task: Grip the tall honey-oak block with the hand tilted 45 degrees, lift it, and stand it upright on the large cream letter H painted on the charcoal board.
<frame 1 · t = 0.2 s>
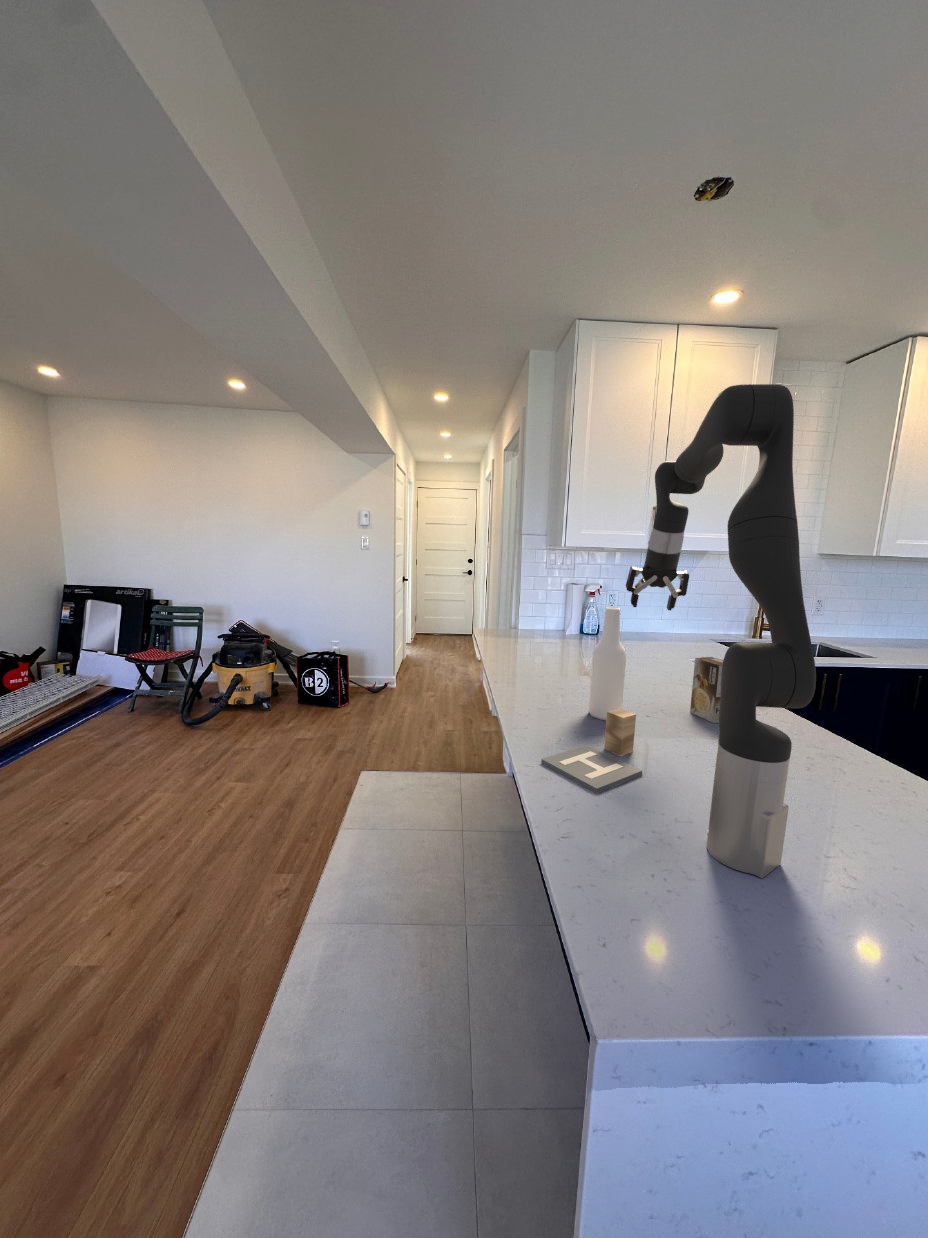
hand: (651, 607, 126), 31 cm above the counter, fingers open, 8 cm apart
alcohol: (604, 716, 136), on the counter
letter board: (590, 769, 103), on the counter
oak block: (618, 750, 113), on the counter
coffee box: (709, 717, 137), on the counter
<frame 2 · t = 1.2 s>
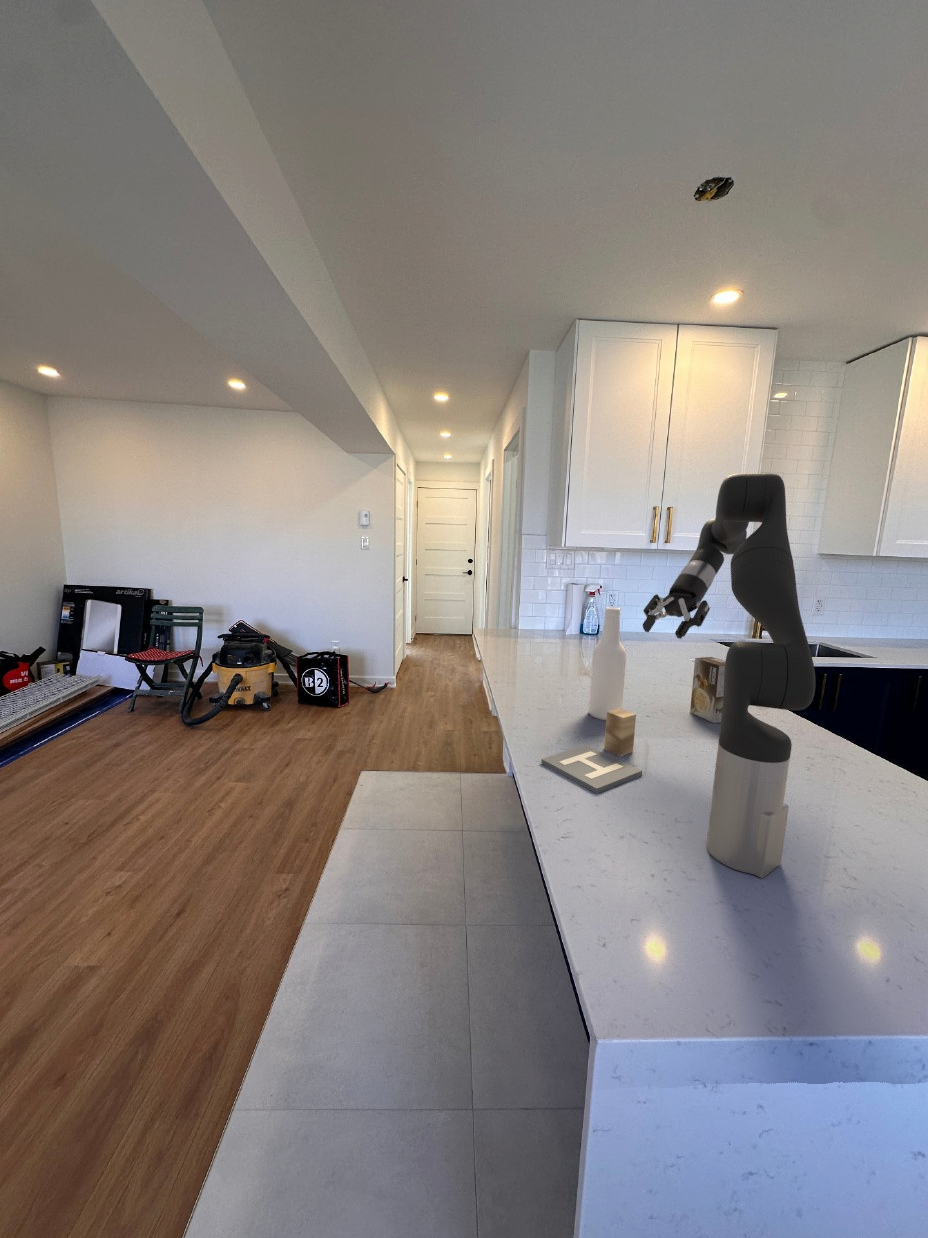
hand: (661, 633, 116), 26 cm above the counter, fingers open, 8 cm apart
nothing on the counter moved.
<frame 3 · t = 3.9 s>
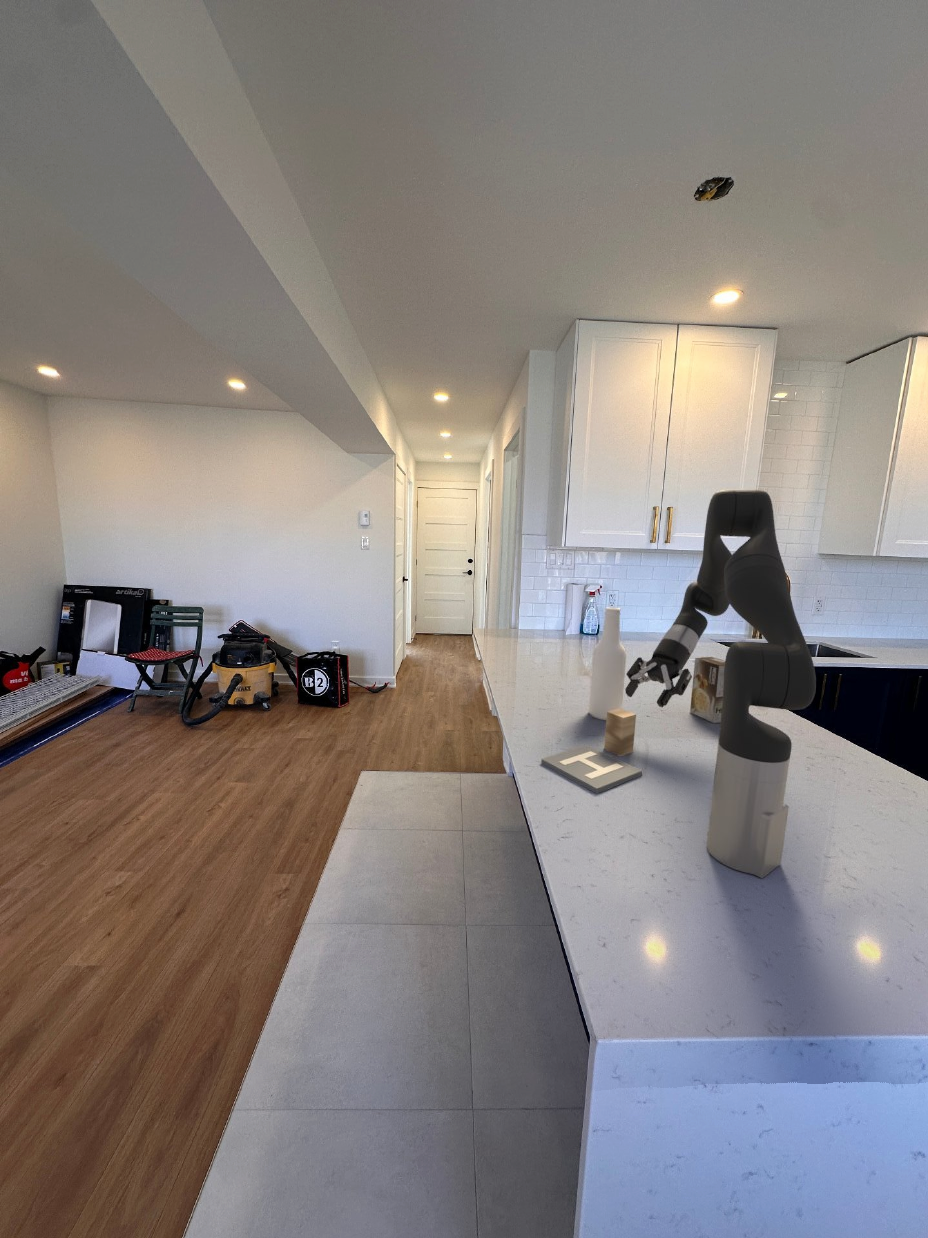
hand: (643, 700, 116), 11 cm above the counter, fingers open, 8 cm apart
nothing on the counter moved.
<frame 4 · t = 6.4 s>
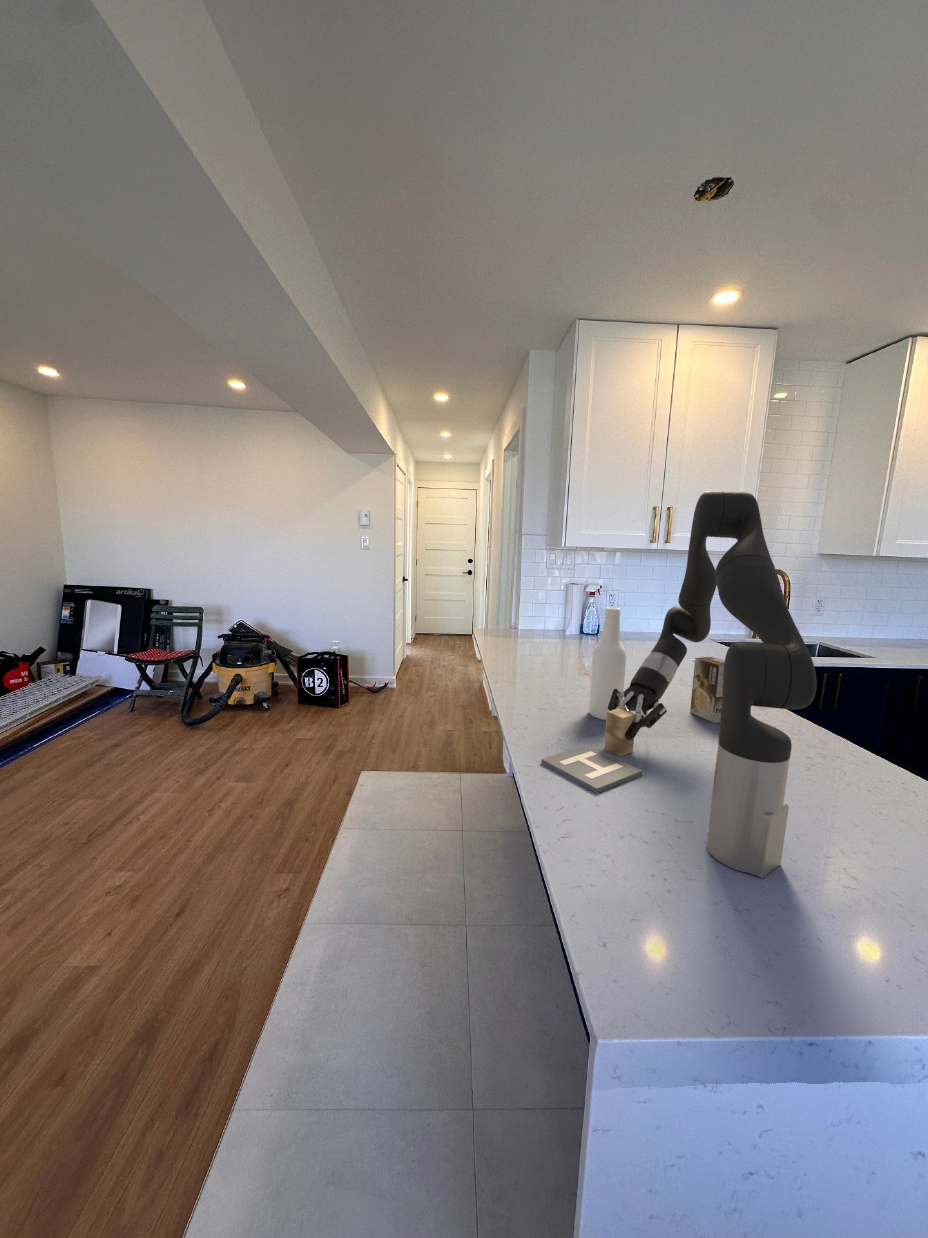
hand: (618, 733, 112), 4 cm above the counter, fingers closed on oak block, 4 cm apart
oak block: (618, 750, 113), on the counter, touching gripper
everything else where it was.
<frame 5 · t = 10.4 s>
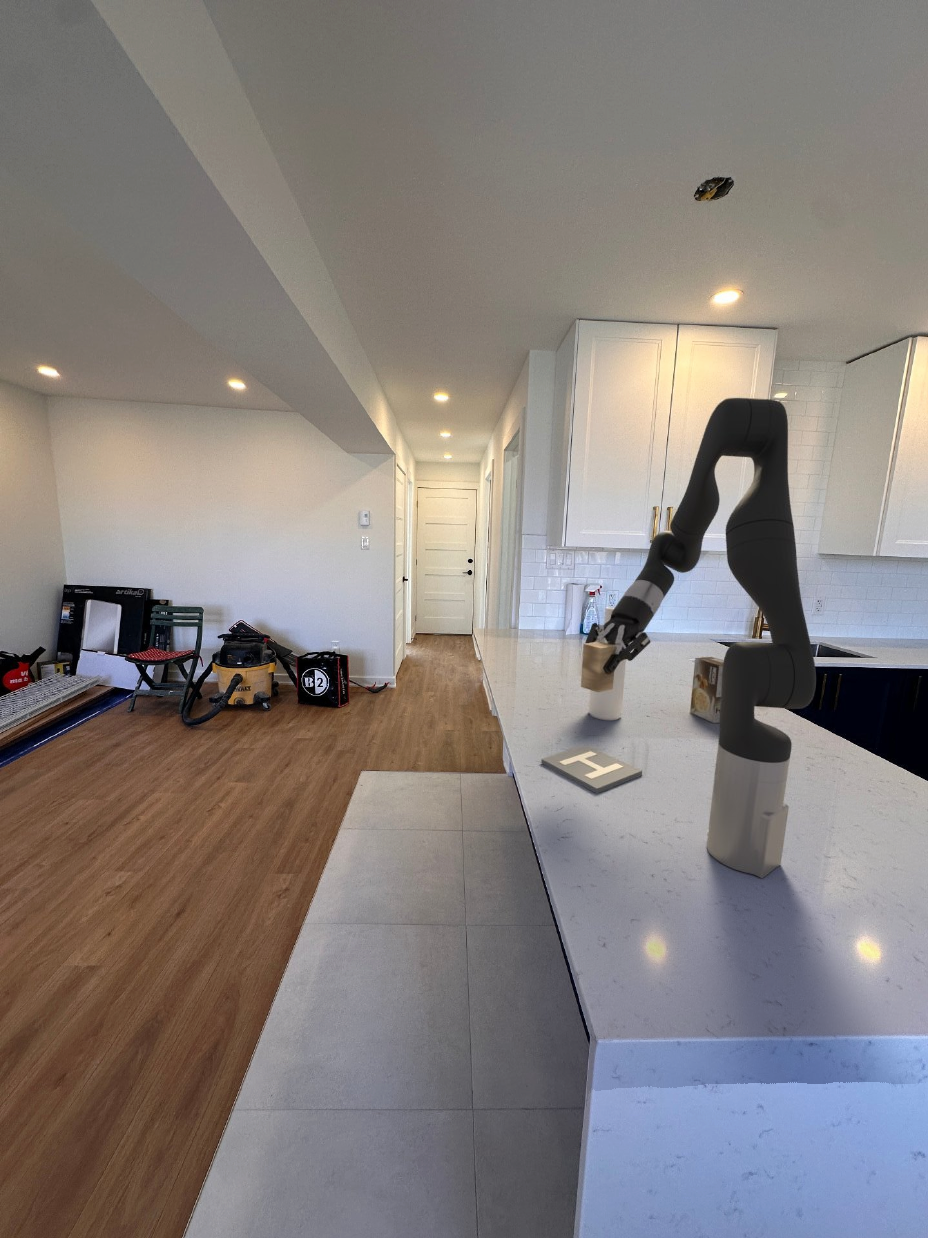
hand: (596, 668, 99), 22 cm above the counter, fingers closed on oak block, 4 cm apart
oak block: (596, 687, 101), point 18 cm above the counter, touching gripper
everything else where it was.
when the fingers open (7 cm above the counter, at t = 14.3 s): oak block drops 1 cm, resting on letter board.
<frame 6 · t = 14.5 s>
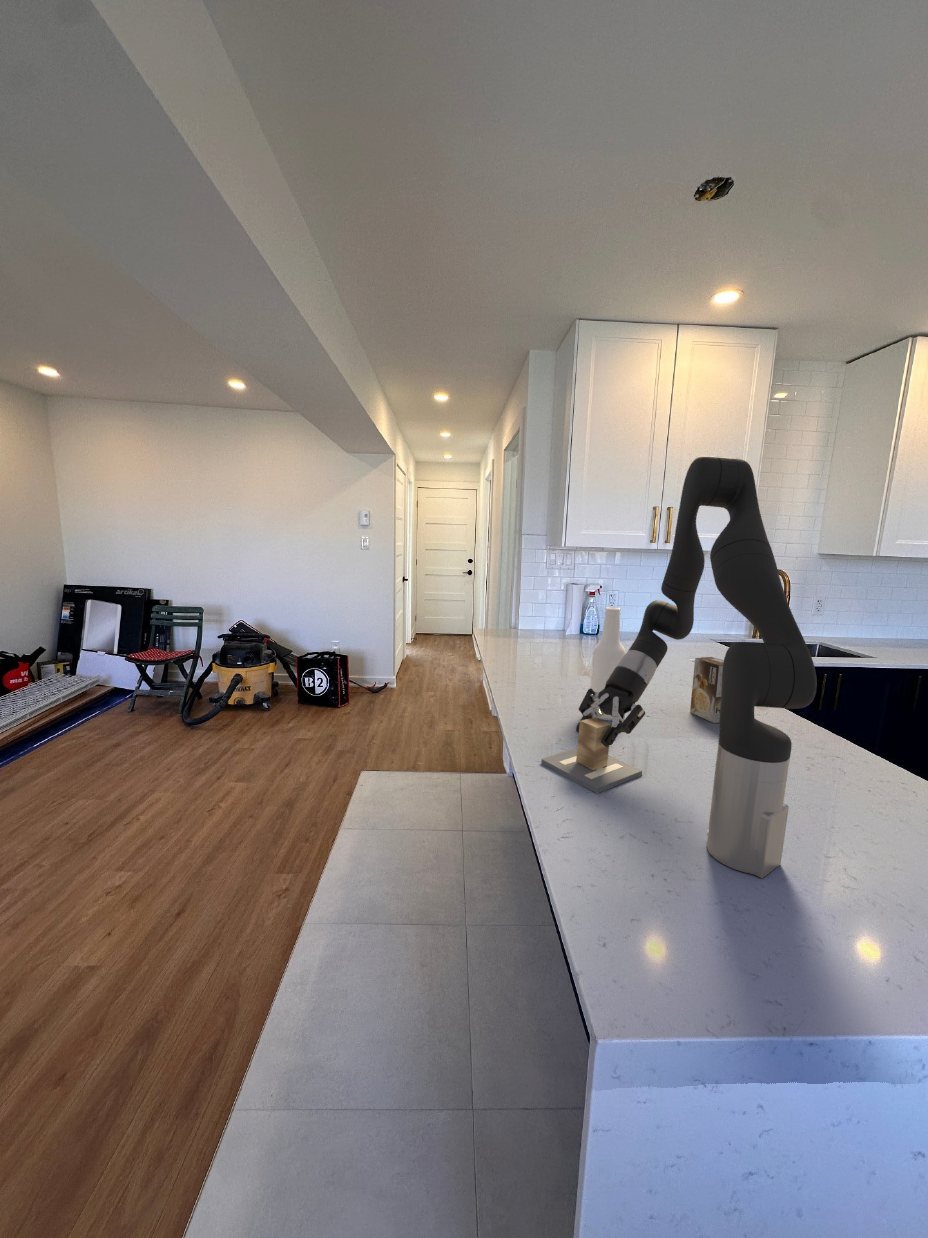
hand: (591, 738, 102), 7 cm above the counter, fingers open, 6 cm apart
oak block: (591, 763, 103), point 1 cm above the counter, touching letter board
everything else where it was.
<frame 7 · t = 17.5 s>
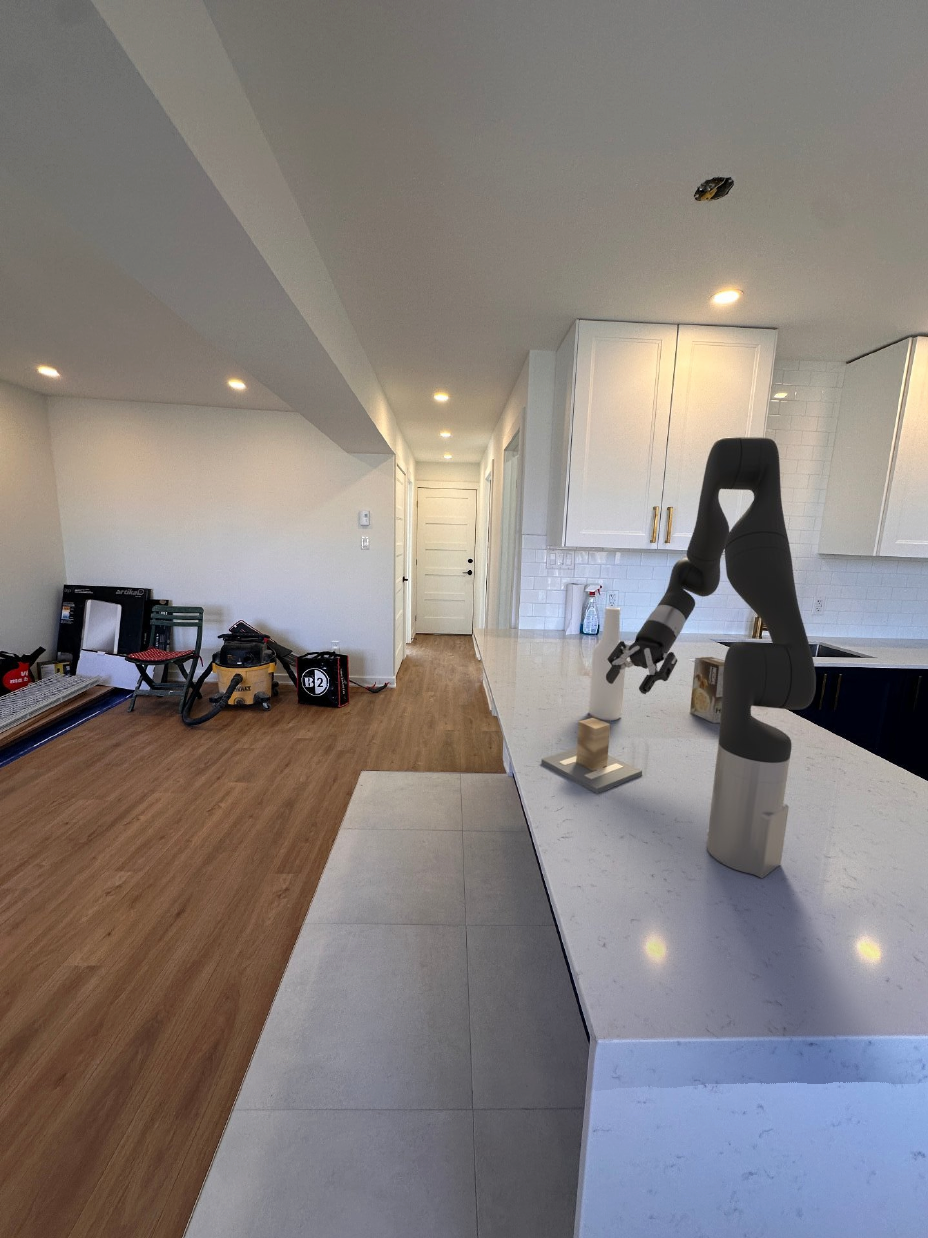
hand: (624, 686, 106), 17 cm above the counter, fingers open, 8 cm apart
nothing on the counter moved.
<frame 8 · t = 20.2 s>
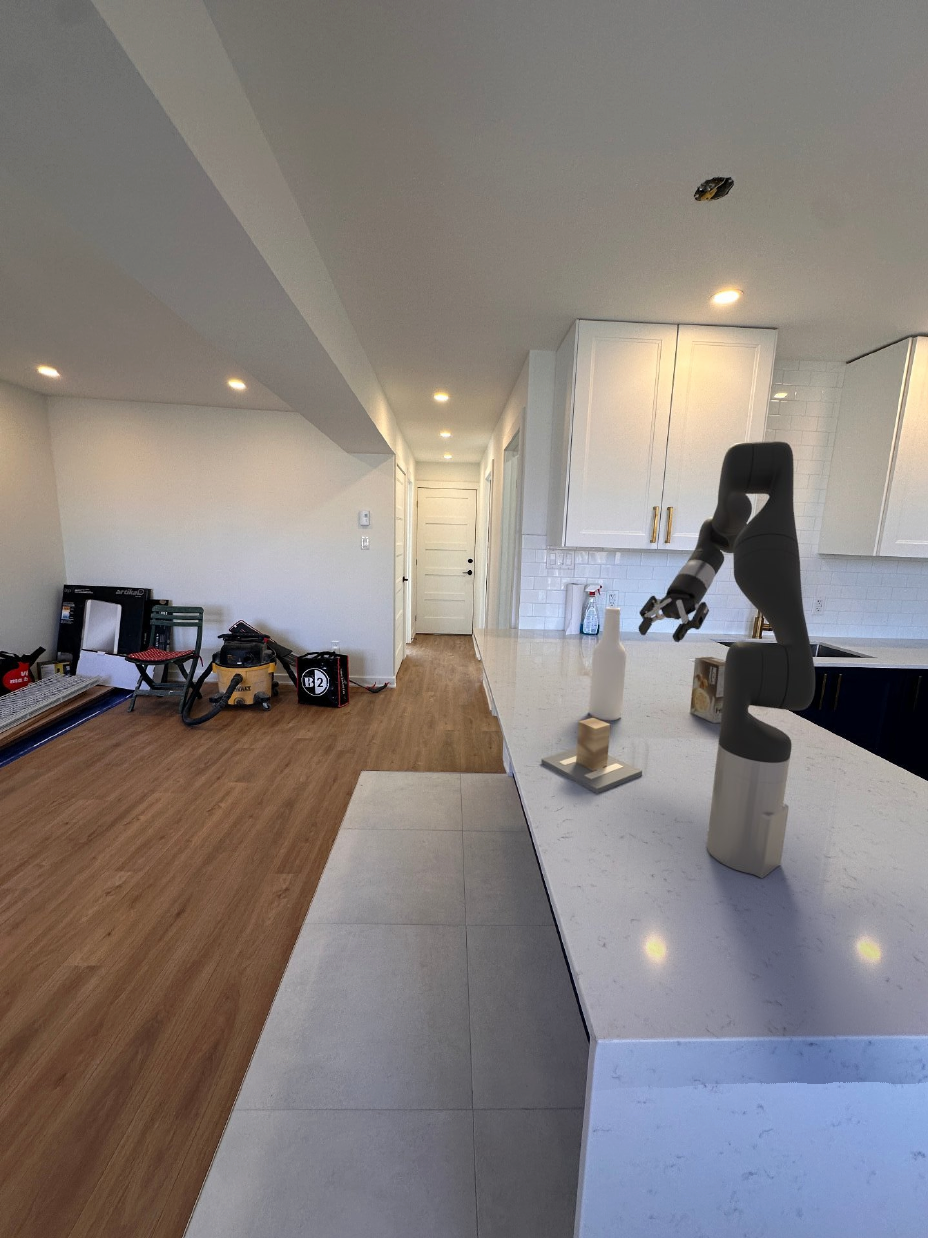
hand: (657, 636, 110), 27 cm above the counter, fingers open, 8 cm apart
nothing on the counter moved.
at the end: oak block 0.2 cm off-centre on the letter board, point 1.1 cm above the letter board's base; oak block tilted 0°; the gripper is holding nothing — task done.
